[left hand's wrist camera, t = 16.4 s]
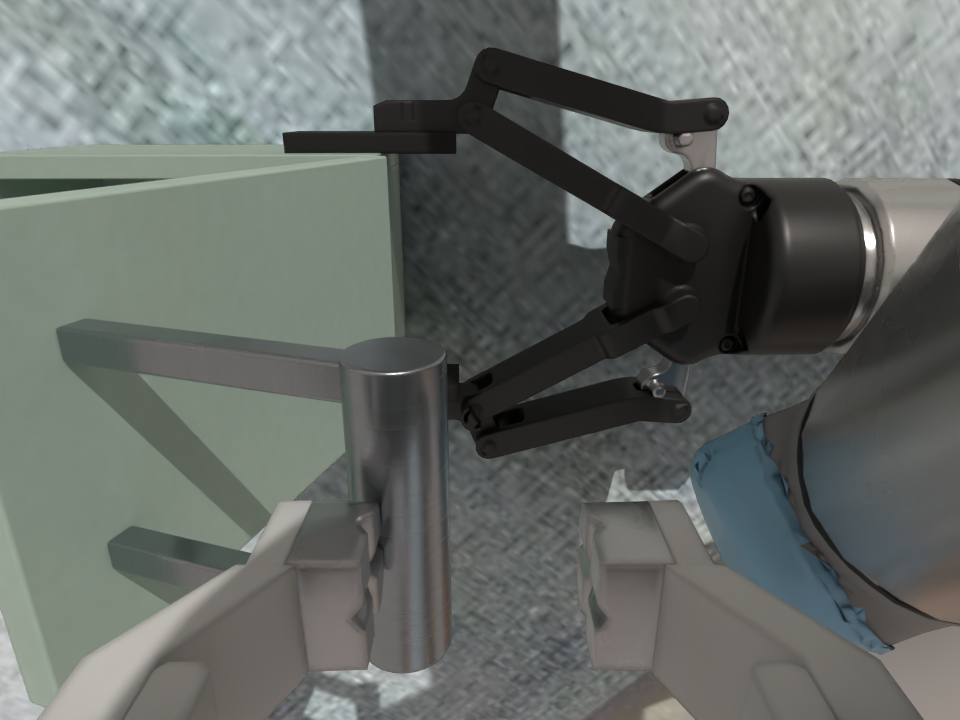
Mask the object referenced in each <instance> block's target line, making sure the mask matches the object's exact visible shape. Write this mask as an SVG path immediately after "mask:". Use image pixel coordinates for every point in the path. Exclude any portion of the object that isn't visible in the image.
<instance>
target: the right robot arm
mask: <svg viewBox="0 0 960 720" xmlns="http://www.w3.org/2000/svg"><path fill="white" fill-rule="evenodd" d="M499 90H502V91H506V92H509V93H512V94H516V95H519V96H522V97H526V98H529V99H533V100H536V101H539V102H543V103H546V104H549V105H553V106H556V107H559V108H563V109H566V110H569V111H573V112H576V113H580V114H583V115H586V116H590V117H593V118H596V119H600V120H603V121H606V122H610V123H613V124H616V125H620V126H623V127H627V128H630V129H634V130H638V131H643V132H653V133H659V143H660V146H661V147H662V148H663V150H665V151H667V152H670V153H675V154H677V155H679V156H680V157H681V158H682V160H683V163H684V169H683V170H681V171H680V172H678V173H677V174H675V175H674V176H672V177H671V178H670V179H668V180H667V181H665V182H664V183H663V184H661V185H660V186H658V187H657V188H655V189H654V190H653V191H651V192H650V193H648V194H647V195H646V196H644V197H643V198H641V197H639V196H638V195H636V194H634V193H633V192H631V191H629V190H628V189H626V188H624V187H622V186H620V185H619V184H617V183H615V182H613V181H612V180H610V179H608V178H607V177H605V176H603V175H602V174H600V173H598V172H597V171H595V170H593V169H592V168H590V167H588V166H587V165H585V164H583V163H582V162H580V161H578V160H577V159H575V158H573V157H572V156H570V155H568V154H567V153H565V152H563V151H561V150H560V149H558V148H556V147H555V146H553V145H551V144H550V143H548V142H546V141H545V140H543V139H541V138H540V137H538V136H536V135H535V134H533V133H531V132H530V131H528V130H526V129H525V128H523V127H521V126H520V125H518V124H516V123H514V122H513V121H511V120H509V119H508V118H506V117H504V116H503V115H501V114H499V113H498V112H496V111H494V110H493V106H494V104H495V101H496V98H497V95H498V92H499ZM373 108H374V127H375V131H296V132H286V133H283V143H284V153H380V154H456V134H470V135H471V136H473V137H475V138H477V139H478V140H480V141H482V142H483V143H485V144H487V145H489V146H490V147H492V148H494V149H495V150H497V151H499V152H501V153H502V154H504V155H506V156H507V157H509V158H511V159H513V160H514V161H516V162H518V163H519V164H521V165H523V166H525V167H526V168H528V169H530V170H531V171H533V172H535V173H537V174H538V175H540V176H542V177H543V178H545V179H547V180H549V181H550V182H552V183H554V184H555V185H557V186H559V187H561V188H562V189H564V190H566V191H567V192H569V193H571V194H573V195H574V196H576V197H578V198H579V199H581V200H583V201H585V202H586V203H588V204H590V205H591V206H593V207H595V208H597V209H598V210H600V211H602V212H603V213H605V214H607V215H608V216H610V217H612V218H613V219H615V222H614V224H613V226H612V228H611V229H608V232H607V251H608V256H609V261H610V266H609V269H608V272H607V275H606V277H605V280H604V291H603V298H604V300H605V301H606V303H605V304H603V305H601V306H599V307H598V308H596V309H594V310H592V311H590V312H589V313H588V314H587V315H586V316H585V317H584V318H583V319H582V320H581V321H579V322H577V323H575V324H573V325H571V326H569V327H567V328H566V329H564V330H562V331H560V332H558V333H556V334H554V335H552V336H550V337H548V338H547V339H545V340H543V341H541V342H539V343H537V344H535V345H533V346H531V347H529V348H528V349H526V350H524V351H522V352H520V353H518V354H516V355H514V356H512V357H510V358H509V359H507V360H505V361H503V362H501V363H499V364H497V365H495V366H493V367H491V368H490V369H488V370H486V371H484V372H482V373H480V374H478V375H476V376H474V377H472V378H471V379H469V380H467V381H466V382H464V383H459V364H447V395H448V419H456V420H460V421H461V422H462V425H463V426H464V427H465V428H466V429H468V430H470V432H471V435H472V437H473V440H474V442H475V444H476V451H477V453H478V455H480V456H481V457H483V458H486V459H491V458H496V457H500V456H504V455H508V454H512V453H516V452H519V451H523V450H527V449H531V448H535V447H539V446H543V445H547V444H551V443H555V442H559V441H563V440H566V439H570V438H574V437H578V436H582V435H586V434H590V433H594V432H598V431H602V430H606V429H610V428H613V427H617V426H621V425H625V424H629V423H633V422H637V421H649V422H665V423H681V422H683V421H685V420H686V419H687V418H688V417H689V416H690V414H691V405H690V403H689V402H688V401H687V400H686V398H685V392H686V387H687V382H688V377H689V372H690V368H691V364H694V363H697V362H699V361H701V360H702V359H704V358H707V357H709V356H712V355H716V354H737V355H764V354H814V353H818V352H821V351H823V350H824V351H826V352H829V353H833V354H845V355H844V356H843V357H842V359H841V360H840V361H839V363H838V364H837V365H836V367H835V368H834V370H833V371H832V372H831V374H830V375H829V376H828V378H827V379H826V380H825V381H824V382H823V383H822V384H821V385H820V386H819V387H818V388H817V389H816V390H815V391H814V393H813V394H812V395H811V397H810V398H809V399H808V400H806V401H804V402H802V403H800V404H797V405H795V406H793V407H790V408H787V409H784V410H782V411H779V412H776V413H774V414H771V415H768V416H766V415H767V413H762V414H760V415H757V416H755V417H753V418H752V419H751V421H750V422H749V423H748V424H746V425H744V426H742V427H740V428H738V429H736V430H733V431H731V432H729V433H727V434H725V435H723V436H721V437H719V438H717V439H714V440H712V441H710V442H708V443H706V444H705V445H704V446H702V447H701V448H700V449H699V450H698V451H697V452H696V454H695V455H694V457H693V460H692V463H691V480H692V485H693V489H694V492H695V495H696V498H697V501H698V504H699V507H700V509H701V512H702V514H703V517H704V519H705V522H706V524H707V527H708V529H709V531H710V534H711V536H712V538H713V541H714V543H715V545H716V547H717V550H718V552H719V554H720V556H721V558H722V560H723V563H724V565H726V566H728V567H729V568H731V569H732V570H734V571H736V572H737V573H739V574H741V575H742V576H744V577H746V578H747V579H749V580H750V581H752V582H754V583H755V584H757V585H759V586H760V587H762V588H764V589H765V590H767V591H768V592H770V593H772V594H773V595H775V596H777V597H778V598H780V599H782V600H783V601H785V602H786V603H788V604H790V605H791V606H793V607H795V608H796V609H798V610H800V611H801V612H803V613H804V614H806V615H808V616H809V617H811V618H813V619H814V620H816V621H818V622H819V623H821V624H822V625H824V626H826V627H827V628H829V629H831V630H832V631H834V632H836V633H837V634H839V635H840V636H842V637H844V638H845V639H847V640H849V641H850V642H852V643H854V644H855V645H857V646H858V647H860V648H862V649H863V650H865V651H867V652H869V651H870V652H875V653H878V654H884V653H886V652H889V651H891V650H894V649H895V647H893V646H892V645H893V644H896V643H899V642H901V641H904V640H907V639H909V638H912V637H914V636H917V635H920V634H922V633H926V632H930V631H933V630H937V629H941V628H944V627H949V626H960V179H947V178H845V179H841V180H839V181H837V182H834V181H832V180H830V179H826V178H732V177H730V176H728V175H726V174H724V173H723V172H721V171H720V170H718V169H715V168H716V145H717V130H718V129H720V128H721V127H722V126H724V124H725V123H726V121H727V120H728V115H729V109H728V106H727V104H726V102H725V101H724V100H722V99H720V98H699V99H686V100H675V101H667V100H664V99H661V98H657V97H654V96H651V95H648V94H644V93H641V92H638V91H634V90H631V89H628V88H625V87H621V86H618V85H615V84H612V83H608V82H605V81H602V80H598V79H595V78H592V77H589V76H585V75H582V74H579V73H575V72H572V71H569V70H566V69H562V68H559V67H556V66H553V65H549V64H546V63H543V62H539V61H536V60H533V59H530V58H526V57H523V56H520V55H517V54H513V53H510V52H507V51H503V50H500V49H497V48H486V49H484V50H482V51H481V52H480V53H479V54H478V56H477V58H476V60H475V63H474V66H473V69H472V72H471V75H470V78H469V81H468V84H467V87H466V89H465V91H464V92H463V93H462V94H461V95H460V96H459V97H458V98H455V99H453V100H386V101H383V102H381V103H379V104H377V105H374V106H373ZM645 343H646V344H648V345H649V346H650V347H652V348H653V349H654V350H656V351H657V352H659V353H660V354H661V355H663V356H664V357H663V359H662V361H661V362H660V363H659V364H658V365H656V366H654V367H649V368H643V369H642V370H641V371H640V373H639V374H638V376H637V377H624V378H618V379H613V380H609V381H605V382H601V383H597V384H593V385H590V386H586V387H582V388H578V389H574V390H570V391H567V392H563V393H559V394H555V395H551V396H547V397H543V398H540V399H536V400H532V401H528V402H524V403H520V404H518V403H519V402H521V401H523V400H525V399H527V398H529V397H531V396H533V395H535V394H537V393H539V392H541V391H543V390H545V389H547V388H549V387H551V386H553V385H555V384H556V383H558V382H560V381H562V380H564V379H566V378H568V377H570V376H572V375H574V374H576V373H578V372H580V371H582V370H584V369H586V368H588V367H590V366H592V365H593V364H595V363H597V362H599V361H601V360H604V359H613V358H617V357H619V356H621V355H623V354H625V353H627V352H629V351H631V350H633V349H635V348H637V347H639V346H641V345H643V344H645ZM516 404H517V405H516Z"/></svg>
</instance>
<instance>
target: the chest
mask: <svg viewBox="0 0 960 720" xmlns="http://www.w3.org/2000/svg"><path fill="white" fill-rule="evenodd" d="M359 156H385V157H386V158H387V176H388V198H389V219H390V240H391V261H392V282H393V303H394V324H395V337H405V332H406V324H405V300H404V275H403V251H402V227H401V202H400V178H399V154H380V153H284V145H81V146H66V147H54V148H42V149H30V150H18V151H6V152H0V199H6V198H15V197H23V196H32V195H40V194H48V193H57V192H65V191H73V190H82V189H90V188H99V187H107V186H115V185H124V184H132V183H141V182H149V181H157V180H166V179H174V178H183V177H191V176H199V175H208V174H216V173H224V172H233V171H241V170H250V169H258V168H266V167H275V166H283V165H292V164H300V163H308V162H317V161H325V160H333V159H342V158H350V157H359Z"/></svg>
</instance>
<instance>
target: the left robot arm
mask: <svg viewBox="0 0 960 720" xmlns="http://www.w3.org/2000/svg"><path fill="white" fill-rule="evenodd" d="M579 529H580V533H581V538H582V542H583V544H582V545H581V547H580V548H579V549H578V550H577V590H578V598H579V604H580V609H581V613H583V614H584V615H585V616H586V617H587V619H586V639H587V644H588V648H589V653H590V658H591V662H592V667H593V670H622V671H653V675H654V676H655V677H656V678H657V679H658V681H659V682H660V683H661V684H662V685H663V686H664V687H665V688H666V689H667V690H668V691H669V692H670V693H671V694H672V695H673V696H674V698H675V699H676V700H677V701H678V702H679V703H680V704H681V705H682V706H683V707H684V708H685V709H686V710H687V711H688V712H689V713H690V714H691V716H692V717H693V718H694V719H695V720H924V719H923V718H922V717H921V715H920V714H919V712H918V711H917V710H916V708H915V707H914V706H913V704H912V703H911V702H910V700H909V699H908V697H907V696H906V695H905V693H904V692H903V691H902V689H901V688H900V687H899V685H898V684H897V682H896V681H895V680H894V678H893V677H892V676H891V674H890V673H889V671H888V670H887V669H886V667H885V666H884V665H883V663H882V662H881V661H880V659H878V658H876V657H875V656H873V655H872V654H870V653H868V652H867V651H865V650H863V649H862V648H860V647H858V646H857V645H855V644H854V643H852V642H850V641H849V640H847V639H845V638H844V637H842V636H840V635H839V634H837V633H836V632H834V631H832V630H831V629H829V628H827V627H826V626H824V625H822V624H821V623H819V622H818V621H816V620H814V619H813V618H811V617H809V616H808V615H806V614H804V613H803V612H801V611H800V610H798V609H796V608H795V607H793V606H791V605H790V604H788V603H786V602H785V601H783V600H782V599H780V598H778V597H777V596H775V595H773V594H772V593H770V592H768V591H767V590H765V589H764V588H762V587H760V586H759V585H757V584H755V583H754V582H752V581H750V580H749V579H747V578H746V577H744V576H742V575H741V574H739V573H737V572H736V571H734V570H732V569H731V568H729V567H728V566H726V565H715V564H714V562H713V560H712V558H711V557H710V555H709V553H708V551H707V549H706V547H705V545H704V543H703V542H702V540H701V538H700V536H699V534H698V532H697V530H696V528H695V527H694V525H693V523H692V521H691V519H690V517H689V515H688V513H687V511H686V510H685V508H684V506H683V504H682V503H681V502H680V501H678V500H662V501H640V502H600V503H581V509H580V517H579ZM380 530H381V515H380V507H379V504H378V502H360V501H312V500H291V501H282V502H279V503H278V504H277V506H276V508H275V509H274V511H273V513H272V515H271V517H270V519H269V521H268V523H267V525H266V527H265V529H264V530H263V532H262V534H261V536H260V538H259V540H258V542H257V544H256V546H255V548H254V549H253V551H252V553H251V555H250V557H249V559H248V561H247V563H246V565H234V566H233V567H231V568H230V569H228V570H226V571H225V572H223V573H221V574H220V575H218V576H216V577H215V578H213V579H212V580H210V581H208V582H207V583H205V584H203V585H202V586H200V587H198V588H197V589H195V590H193V591H192V592H190V593H189V594H187V595H185V596H184V597H182V598H180V599H179V600H177V601H175V602H174V603H172V604H170V605H169V606H167V607H166V608H164V609H162V610H161V611H159V612H157V613H156V614H154V615H152V616H151V617H149V618H147V619H146V620H144V621H143V622H141V623H139V624H138V625H136V626H134V627H133V628H131V629H129V630H128V631H126V632H124V633H123V634H121V635H120V636H118V637H116V638H115V639H113V640H111V641H110V642H108V643H106V644H105V645H103V646H102V647H100V648H98V649H97V650H95V651H93V652H92V653H90V654H88V655H87V656H85V657H83V658H82V659H81V660H80V662H79V663H78V664H77V666H76V667H75V668H74V670H73V671H72V672H71V674H70V675H69V677H68V678H67V679H66V681H65V682H64V683H63V685H62V686H61V687H60V689H59V690H58V691H57V693H56V694H55V696H54V697H53V698H52V700H51V701H50V702H49V704H48V705H47V706H46V708H45V709H44V710H43V712H42V713H41V715H40V716H39V717H38V719H37V720H265V719H266V718H267V717H268V716H269V715H270V714H271V713H272V712H273V711H274V710H275V709H276V708H277V707H278V706H279V705H280V704H281V702H282V701H283V700H284V699H285V698H286V697H287V696H288V695H289V694H290V693H291V692H292V691H293V690H294V689H295V688H296V687H297V686H298V685H299V683H300V682H301V681H302V680H303V679H304V678H305V677H306V676H307V675H308V673H307V671H338V670H367V669H368V664H369V659H370V655H371V650H372V645H373V640H374V636H375V630H374V616H375V615H377V614H378V613H379V611H380V605H381V600H382V591H383V580H384V560H383V550H382V549H381V547H380V546H379V545H378V544H377V543H378V539H379V535H380Z"/></svg>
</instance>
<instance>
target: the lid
mask: <svg viewBox="0 0 960 720" xmlns="http://www.w3.org/2000/svg"><path fill="white" fill-rule="evenodd" d="M344 453H345V454H346V466H347V479H348V491H349V501H360V502H378V504H379V507H380V515H381V530H380V535H379V539H378V543H377V544H378V545H379V546H380V547H381V549H382V550H383V560H384V580H383V591H382V600H381V605H380V611H379V613H378V614H377V615H375V616H374V630H375V636H374V640H373V645H372V650H371V655H370V659H369V661H370V662H371V663H372V664H373V665H375V666H376V667H378V668H380V669H382V670H385V671H388V672H392V673H412V672H416V671H420V670H423V669H425V668H428V667H430V666H431V665H433V664H435V663H436V662H437V661H438V660H440V659H441V658H442V657H443V655H444V654H445V653H446V651H447V649H448V648H449V645H450V643H451V639H452V615H451V560H450V505H449V450H448V395H447V354H446V352H445V350H444V348H443V347H442V346H440V345H439V344H437V343H435V342H432V341H429V340H425V339H420V338H413V337H395V324H394V303H393V282H392V261H391V240H390V219H389V198H388V176H387V158H386V157H385V156H359V157H350V158H342V159H333V160H325V161H317V162H308V163H300V164H292V165H283V166H275V167H266V168H258V169H250V170H241V171H233V172H224V173H216V174H208V175H199V176H191V177H183V178H174V179H166V180H157V181H149V182H141V183H132V184H124V185H115V186H107V187H99V188H90V189H82V190H73V191H65V192H57V193H48V194H40V195H32V196H23V197H15V198H6V199H0V609H1V612H2V615H3V619H4V622H5V625H6V628H7V631H8V634H9V637H10V640H11V643H12V647H13V650H14V653H15V656H16V659H17V662H18V665H19V668H20V672H21V675H22V678H23V681H24V684H25V687H26V690H27V693H28V697H29V700H30V701H31V702H32V703H34V704H37V705H40V706H43V707H46V706H47V705H48V704H49V702H50V701H51V700H52V698H53V697H54V696H55V694H56V693H57V691H58V690H59V689H60V687H61V686H62V685H63V683H64V682H65V681H66V679H67V678H68V677H69V675H70V674H71V672H72V671H73V670H74V668H75V667H76V666H77V664H78V663H79V662H80V660H81V659H82V658H83V657H85V656H87V655H88V654H90V653H92V652H93V651H95V650H97V649H98V648H100V647H102V646H103V645H105V644H106V643H108V642H110V641H111V640H113V639H115V638H116V637H118V636H120V635H121V634H123V633H124V632H126V631H128V630H129V629H131V628H133V627H134V626H136V625H138V624H139V623H141V622H143V621H144V620H146V619H147V618H149V617H151V616H152V615H154V614H156V613H157V612H159V611H161V610H162V609H164V608H166V607H167V606H169V605H170V604H172V603H174V602H175V601H177V600H179V599H180V598H182V597H184V596H185V595H187V594H189V593H190V592H192V591H193V590H195V589H197V588H198V587H200V586H202V585H203V584H205V583H207V582H208V581H210V580H212V579H213V578H215V577H216V576H218V575H220V574H221V573H223V572H225V571H226V570H228V569H230V568H231V567H233V566H234V565H246V563H247V561H248V559H249V557H250V555H251V553H248V552H244V551H240V549H241V548H242V547H243V546H245V545H246V544H247V543H248V542H249V541H250V540H251V539H252V538H253V537H254V536H255V535H256V534H258V533H259V532H260V531H261V530H262V529H263V528H264V527H265V526H266V525H267V523H268V521H269V519H270V517H271V515H272V513H273V511H274V509H275V508H276V506H277V504H278V503H279V502H282V501H291V500H294V499H295V498H297V497H298V496H299V495H300V494H301V493H302V492H303V491H304V490H305V489H306V488H307V487H308V486H310V485H311V484H312V483H313V482H314V481H315V480H316V479H317V478H318V477H319V476H320V475H321V474H323V473H324V472H325V471H326V470H327V469H328V468H329V467H330V466H331V465H332V464H333V463H334V462H336V461H337V460H338V459H339V458H340V457H341V456H342V455H343V454H344Z"/></svg>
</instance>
